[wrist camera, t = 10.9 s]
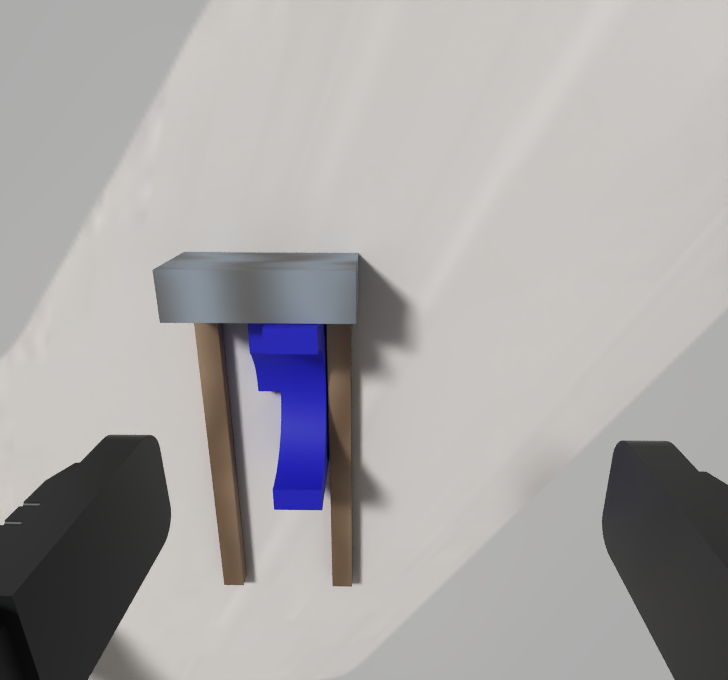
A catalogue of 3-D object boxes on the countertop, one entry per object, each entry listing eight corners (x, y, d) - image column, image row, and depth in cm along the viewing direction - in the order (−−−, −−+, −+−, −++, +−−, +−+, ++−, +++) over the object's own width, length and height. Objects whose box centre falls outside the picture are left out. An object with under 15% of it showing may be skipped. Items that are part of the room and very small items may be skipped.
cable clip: (257, 298, 34) (234, 328, 29) (325, 298, 34) (316, 329, 29) (267, 455, 38) (250, 509, 33) (329, 456, 38) (321, 510, 33)
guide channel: (358, 253, 33) (356, 271, 28) (358, 576, 42) (356, 630, 37) (183, 252, 33) (152, 270, 28) (221, 574, 42) (202, 628, 37)
